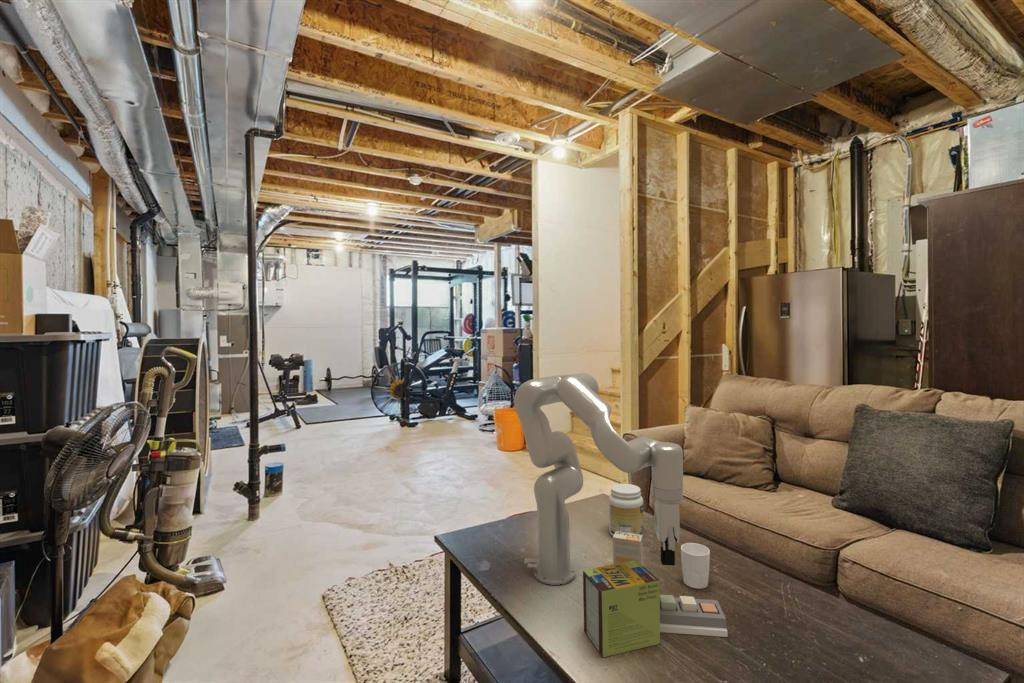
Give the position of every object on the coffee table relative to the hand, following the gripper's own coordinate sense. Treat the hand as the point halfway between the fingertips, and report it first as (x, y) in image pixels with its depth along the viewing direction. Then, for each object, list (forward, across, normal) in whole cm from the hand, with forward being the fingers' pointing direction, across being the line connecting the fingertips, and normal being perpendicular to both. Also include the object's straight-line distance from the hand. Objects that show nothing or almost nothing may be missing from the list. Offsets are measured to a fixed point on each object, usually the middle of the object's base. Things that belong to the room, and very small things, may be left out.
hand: (667, 563), depth 120 cm
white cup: (+15, -19, +11) cm, 27 cm away
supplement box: (+15, -19, -8) cm, 25 cm away
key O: (+12, 0, 0) cm, 12 cm away
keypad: (+15, 0, +5) cm, 15 cm away
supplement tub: (+15, -49, -6) cm, 52 cm away
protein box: (+15, +8, -12) cm, 21 cm away
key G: (+13, 0, +10) cm, 16 cm away
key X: (+12, 0, +5) cm, 12 cm away
